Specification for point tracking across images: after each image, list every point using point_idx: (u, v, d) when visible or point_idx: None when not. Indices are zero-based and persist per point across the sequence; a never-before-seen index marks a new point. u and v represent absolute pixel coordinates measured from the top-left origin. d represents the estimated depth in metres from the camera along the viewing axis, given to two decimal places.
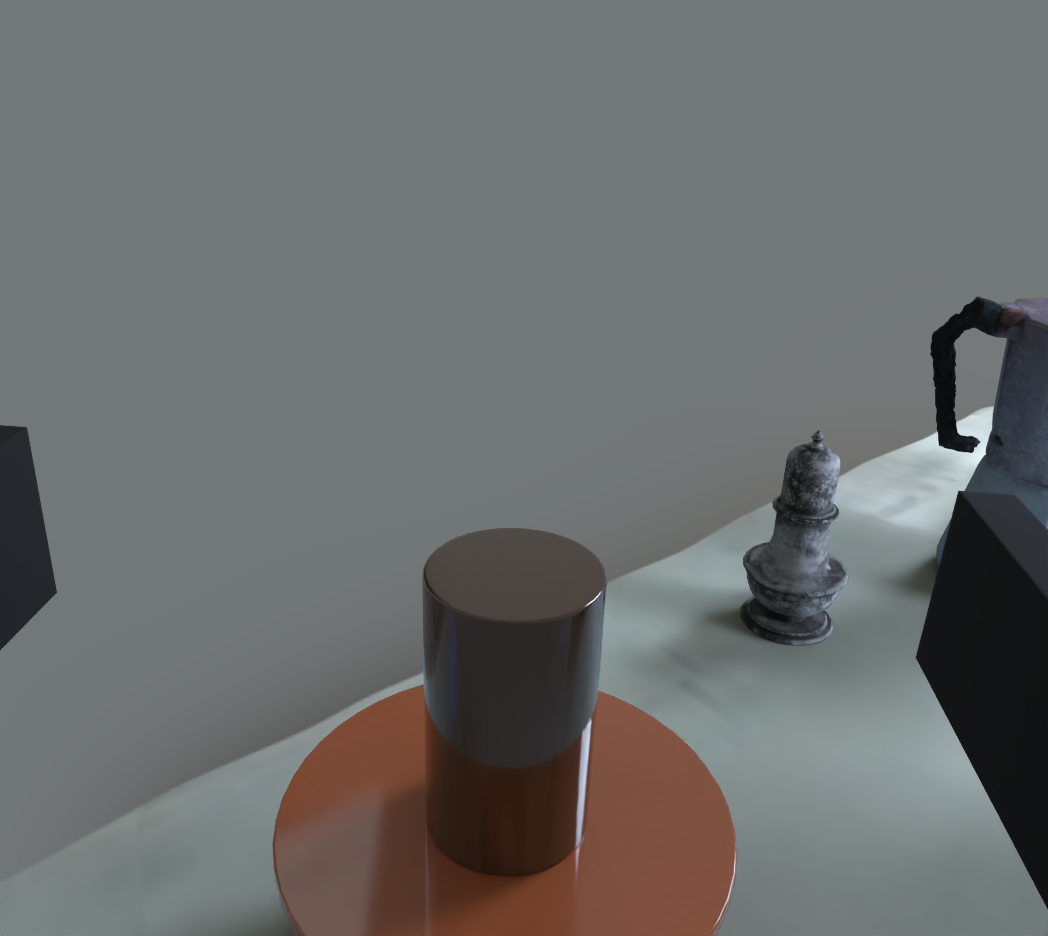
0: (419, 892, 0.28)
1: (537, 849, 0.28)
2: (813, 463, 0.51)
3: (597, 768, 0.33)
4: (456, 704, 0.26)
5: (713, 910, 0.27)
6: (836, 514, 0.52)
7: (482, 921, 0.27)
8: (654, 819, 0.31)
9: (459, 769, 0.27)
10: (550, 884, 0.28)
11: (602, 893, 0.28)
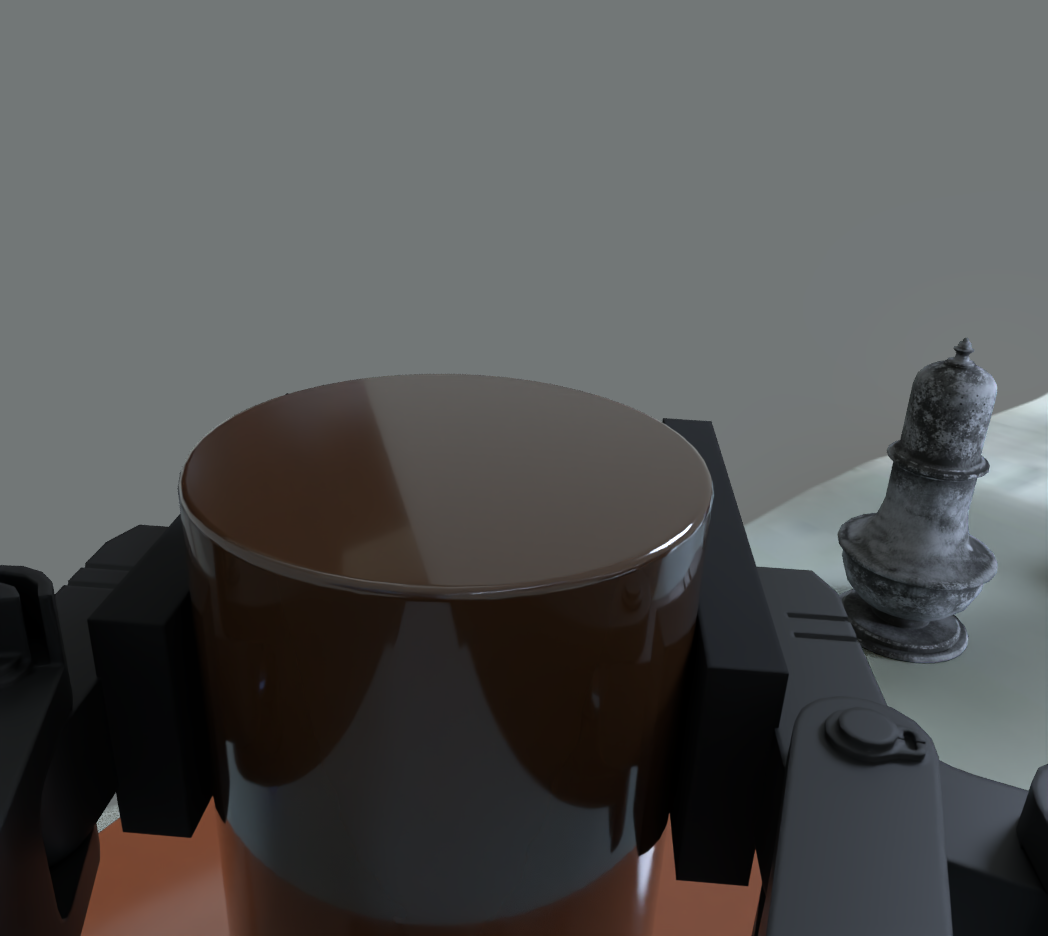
0: None
1: None
2: (959, 385, 0.33)
3: None
4: (265, 838, 0.09)
5: None
6: (987, 467, 0.35)
7: None
8: None
9: None
10: None
11: None
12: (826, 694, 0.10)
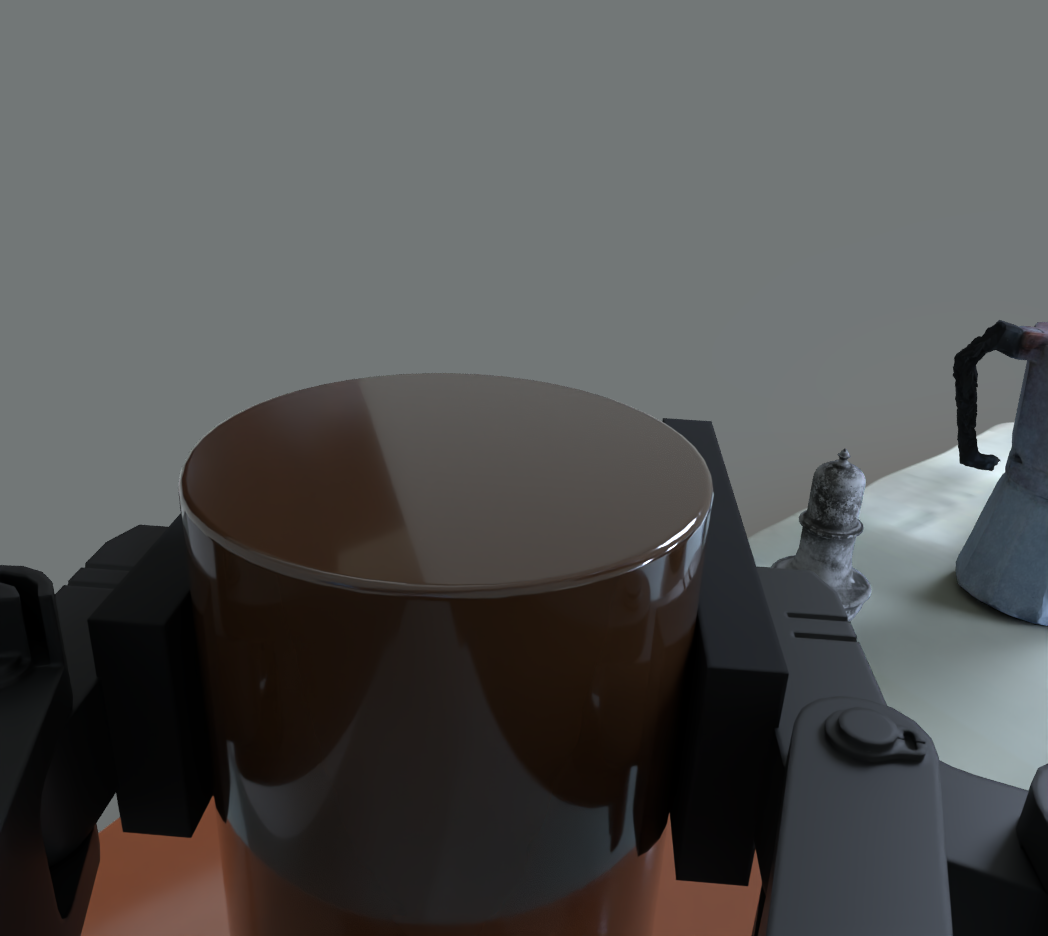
0: None
1: None
2: (840, 480, 0.53)
3: None
4: (265, 838, 0.09)
5: None
6: (861, 529, 0.54)
7: None
8: None
9: None
10: None
11: None
12: (826, 694, 0.10)
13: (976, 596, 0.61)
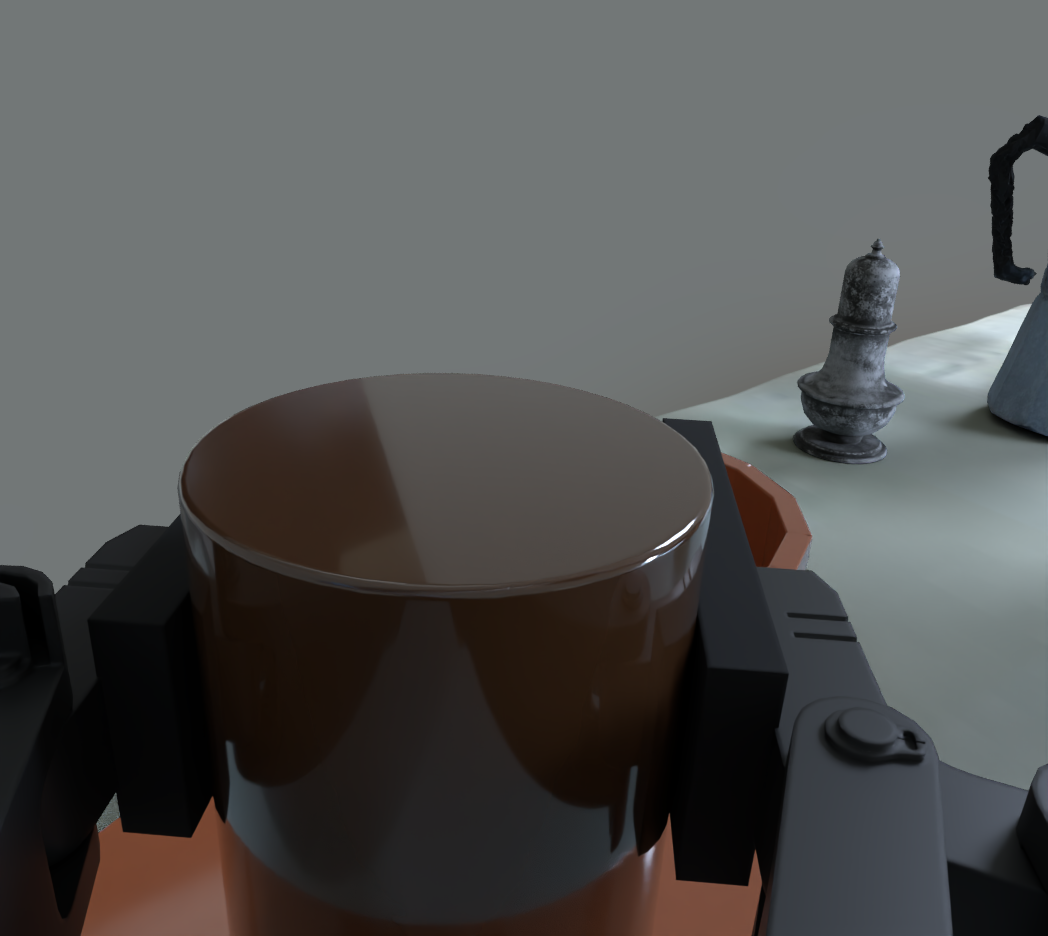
0: None
1: None
2: (873, 269, 0.51)
3: None
4: (266, 838, 0.09)
5: None
6: (894, 327, 0.52)
7: None
8: None
9: None
10: None
11: None
12: (826, 694, 0.10)
13: (1010, 420, 0.59)
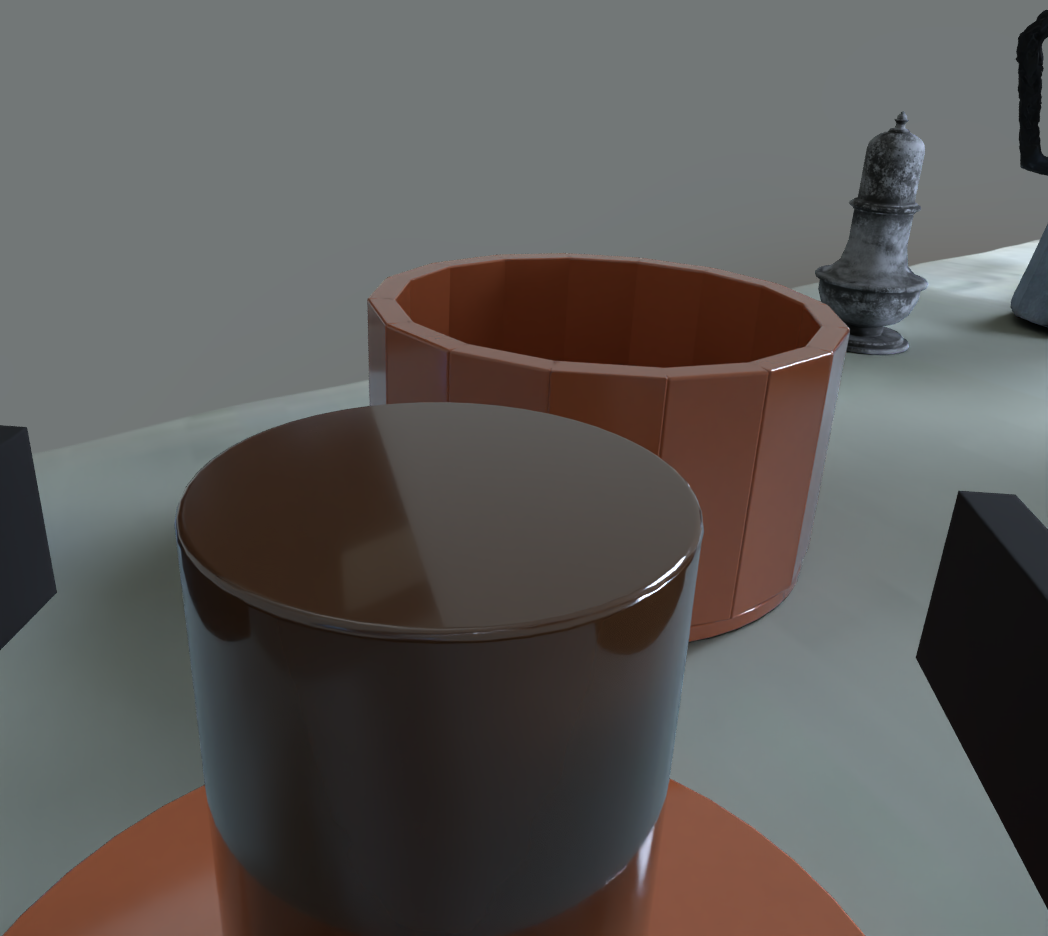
0: None
1: None
2: (897, 142, 0.48)
3: None
4: (261, 871, 0.09)
5: None
6: (918, 207, 0.49)
7: None
8: None
9: None
10: None
11: None
12: None
13: (1036, 321, 0.56)
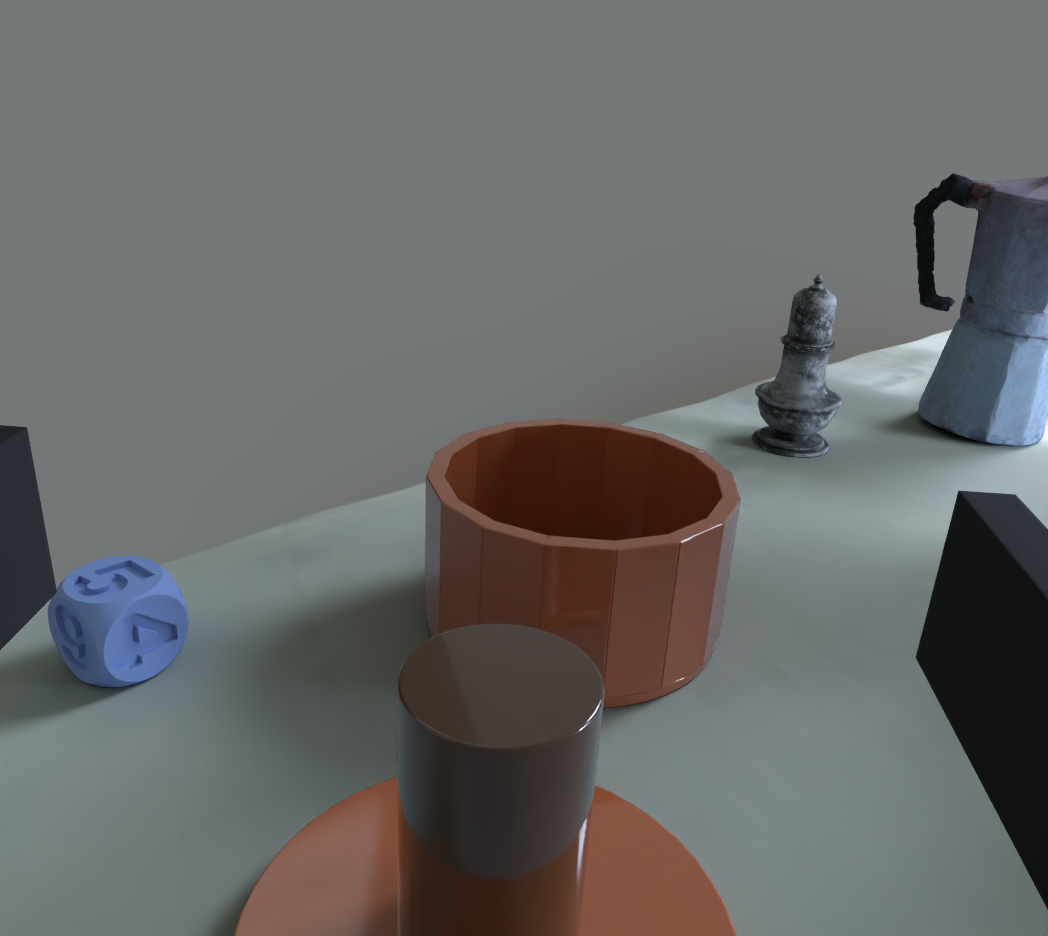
0: None
1: None
2: (814, 299, 0.62)
3: (591, 882, 0.29)
4: (431, 832, 0.23)
5: None
6: (832, 345, 0.64)
7: None
8: None
9: (433, 902, 0.24)
10: None
11: None
12: None
13: (934, 423, 0.71)
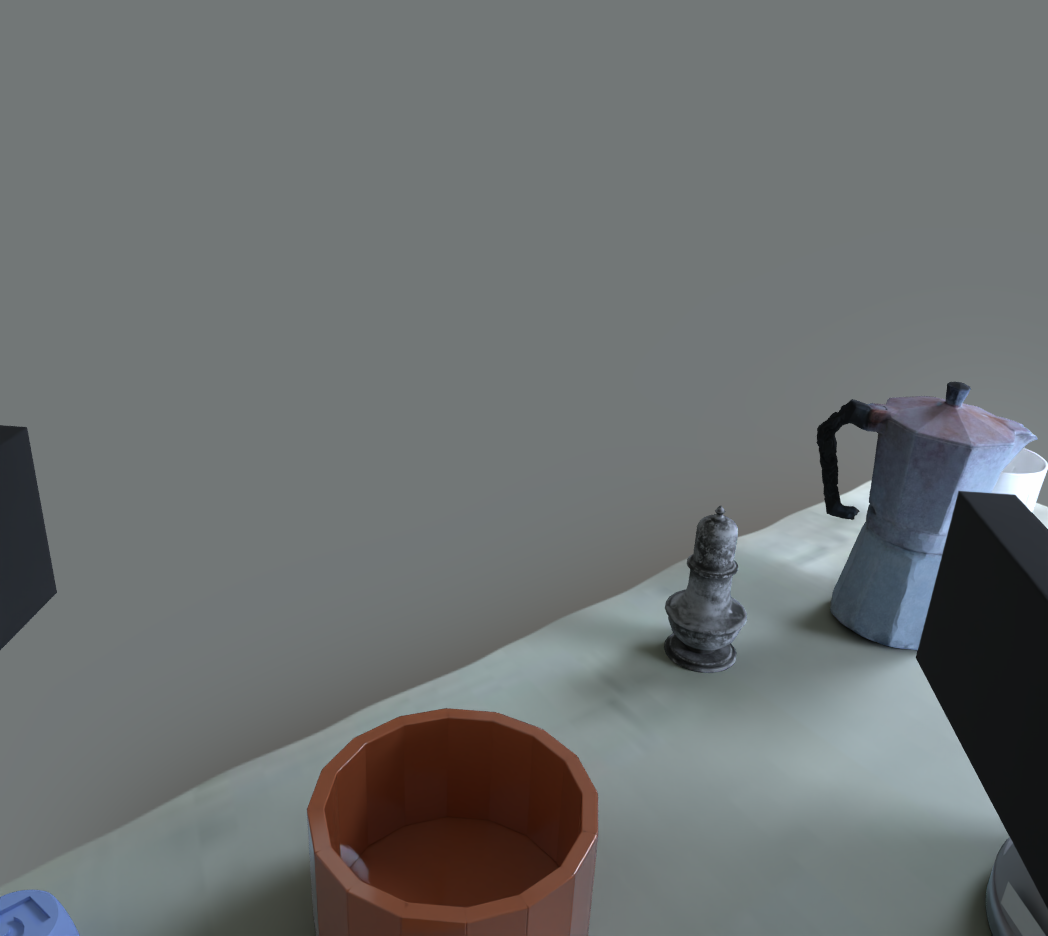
0: None
1: None
2: (715, 531, 0.65)
3: None
4: None
5: None
6: (735, 570, 0.67)
7: None
8: None
9: None
10: None
11: None
12: None
13: (843, 622, 0.74)
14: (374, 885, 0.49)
